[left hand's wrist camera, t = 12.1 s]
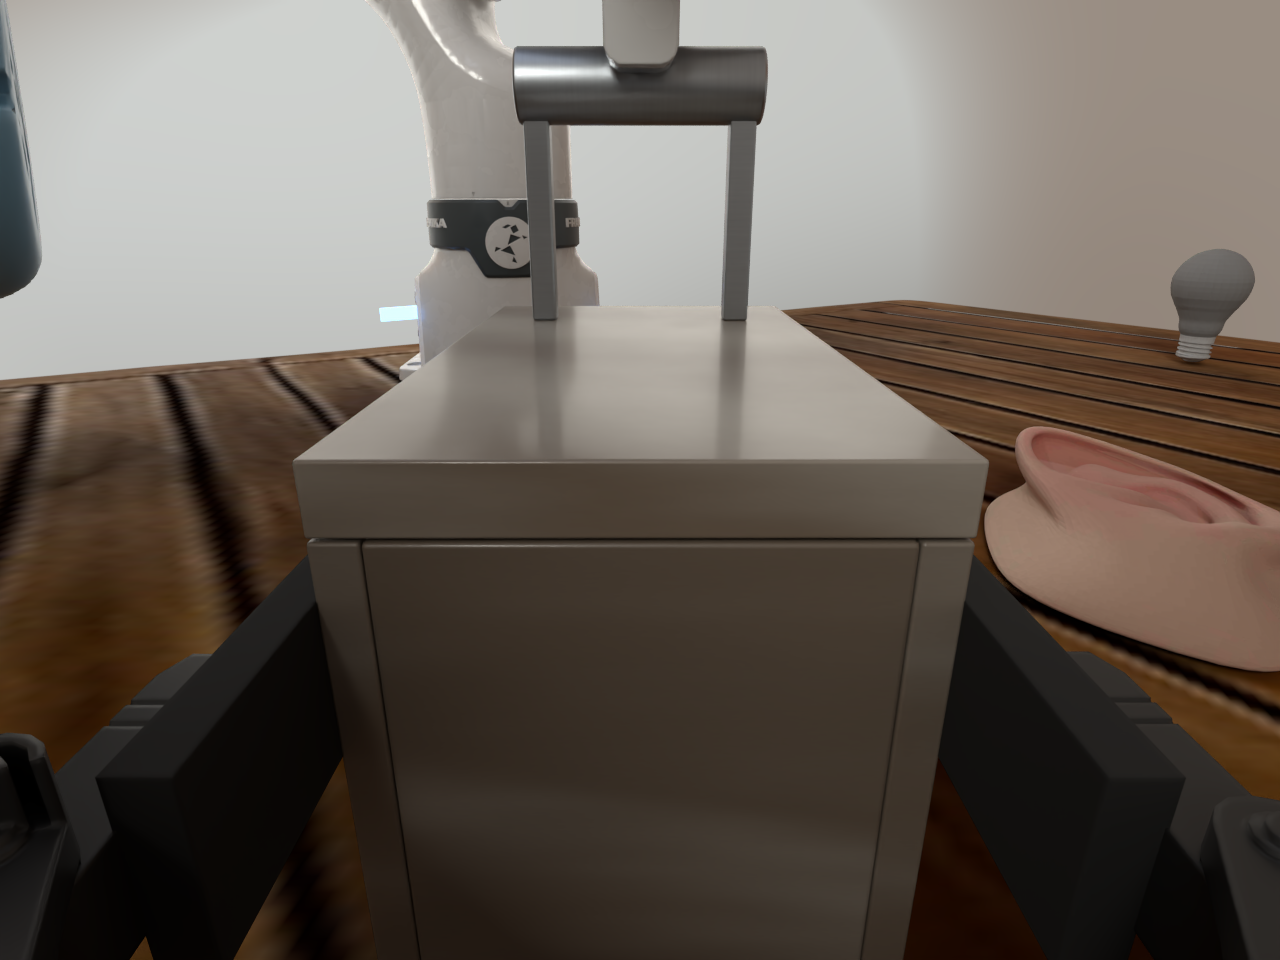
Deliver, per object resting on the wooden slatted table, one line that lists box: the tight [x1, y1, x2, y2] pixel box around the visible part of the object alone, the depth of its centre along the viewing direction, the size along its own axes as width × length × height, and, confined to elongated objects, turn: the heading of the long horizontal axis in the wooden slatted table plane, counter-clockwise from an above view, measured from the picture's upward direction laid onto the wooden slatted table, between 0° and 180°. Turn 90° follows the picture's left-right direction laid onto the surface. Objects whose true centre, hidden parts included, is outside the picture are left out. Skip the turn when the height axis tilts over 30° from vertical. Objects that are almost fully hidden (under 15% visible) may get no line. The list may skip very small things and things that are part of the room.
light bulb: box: [1171, 249, 1255, 362], centre depth 67 cm, size 6×6×10 cm
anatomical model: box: [985, 427, 1280, 672], centre depth 29 cm, size 13×4×12 cm
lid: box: [292, 46, 989, 538], centre depth 16 cm, size 16×9×8 cm, turn 0°
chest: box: [307, 538, 974, 960], centre depth 19 cm, size 16×9×9 cm, turn 0°
